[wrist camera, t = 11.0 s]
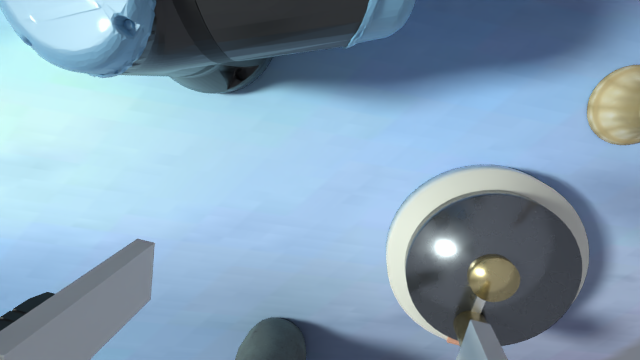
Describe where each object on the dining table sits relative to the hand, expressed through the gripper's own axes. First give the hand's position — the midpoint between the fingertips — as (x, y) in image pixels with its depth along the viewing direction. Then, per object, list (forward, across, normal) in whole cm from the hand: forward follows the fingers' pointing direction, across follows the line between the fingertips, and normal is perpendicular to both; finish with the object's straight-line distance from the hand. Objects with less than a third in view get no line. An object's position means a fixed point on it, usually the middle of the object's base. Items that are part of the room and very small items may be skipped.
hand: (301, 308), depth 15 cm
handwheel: (+27, +18, -8) cm, 34 cm away
